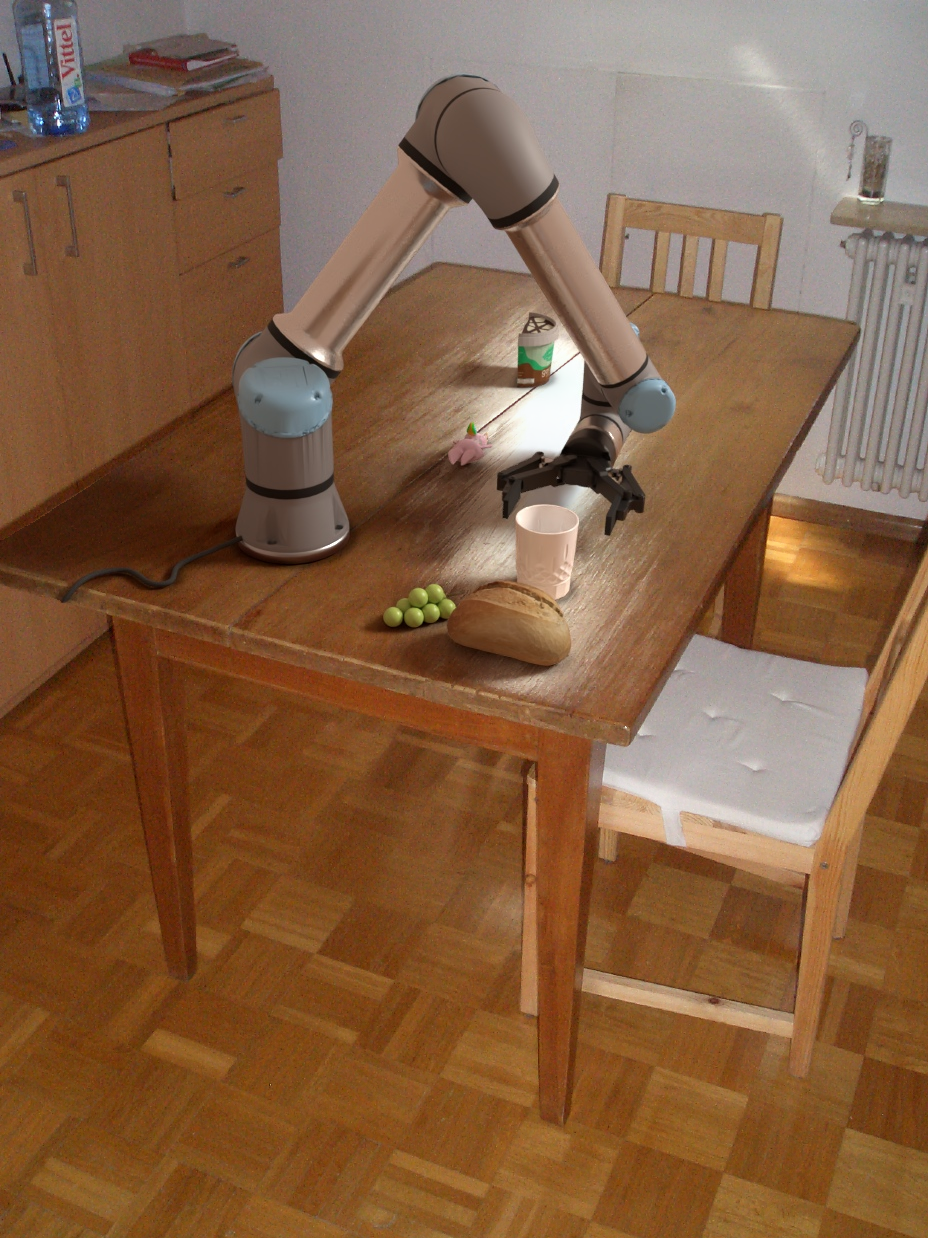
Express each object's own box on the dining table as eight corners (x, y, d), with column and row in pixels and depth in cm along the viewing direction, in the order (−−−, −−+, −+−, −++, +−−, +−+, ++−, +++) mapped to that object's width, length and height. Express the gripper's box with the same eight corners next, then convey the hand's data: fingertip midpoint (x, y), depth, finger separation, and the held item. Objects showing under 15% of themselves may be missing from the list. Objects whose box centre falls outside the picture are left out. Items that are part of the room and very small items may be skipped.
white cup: (575, 604, 159) (581, 534, 153) (512, 603, 159) (516, 533, 153) (571, 573, 165) (577, 504, 160) (511, 571, 165) (514, 503, 160)
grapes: (392, 637, 152) (392, 607, 149) (376, 618, 155) (375, 588, 153) (473, 615, 156) (474, 586, 154) (455, 597, 160) (456, 568, 157)
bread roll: (460, 617, 156) (461, 561, 151) (579, 638, 152) (583, 581, 148) (436, 659, 148) (437, 601, 144) (561, 682, 144) (565, 623, 140)
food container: (550, 393, 217) (554, 337, 212) (515, 390, 218) (518, 334, 212) (560, 368, 227) (564, 313, 222) (526, 364, 228) (529, 310, 223)
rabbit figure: (459, 447, 201) (436, 472, 187) (461, 410, 198) (437, 433, 185) (497, 452, 200) (477, 478, 186) (500, 415, 197) (479, 438, 184)
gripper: (675, 488, 180) (649, 558, 162) (505, 463, 185) (463, 528, 168) (681, 440, 176) (655, 506, 158) (507, 415, 181) (464, 477, 164)
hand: (556, 517), depth 163 cm, fingers open, 13 cm apart
